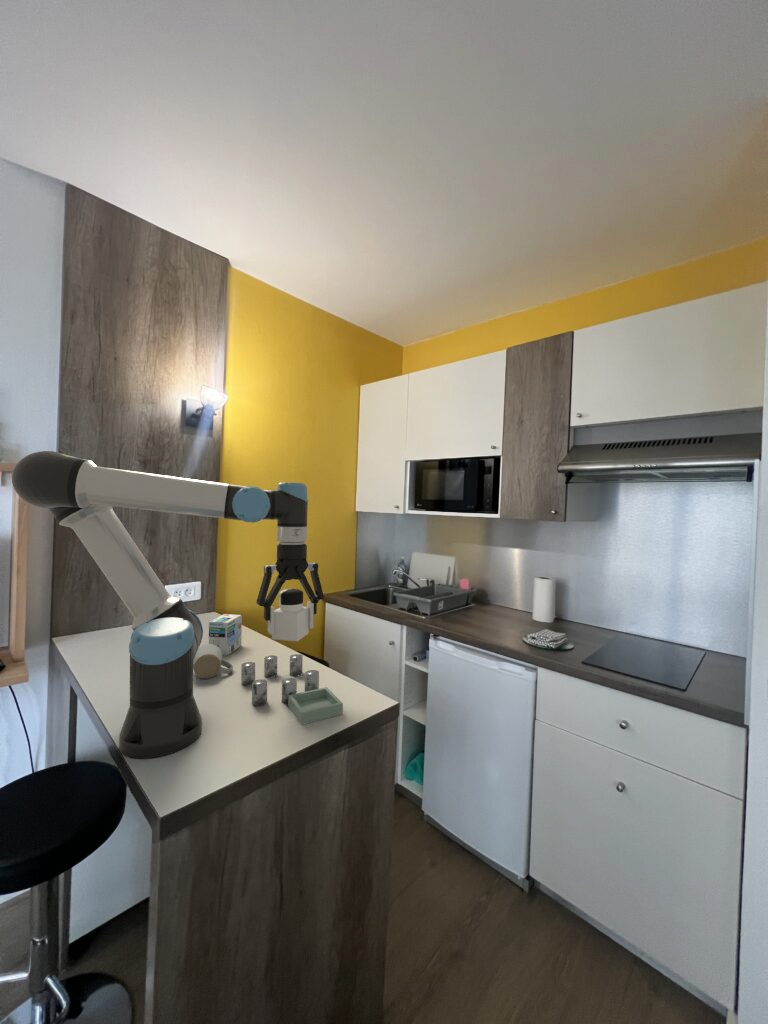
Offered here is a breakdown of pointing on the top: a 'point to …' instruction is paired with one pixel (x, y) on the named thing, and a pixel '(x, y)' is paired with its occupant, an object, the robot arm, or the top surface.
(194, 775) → the top surface
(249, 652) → the top surface
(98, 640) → the top surface
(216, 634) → the light bulb box
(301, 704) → the tray
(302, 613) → the medicine bottle
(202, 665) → the ceramic mug
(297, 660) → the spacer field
